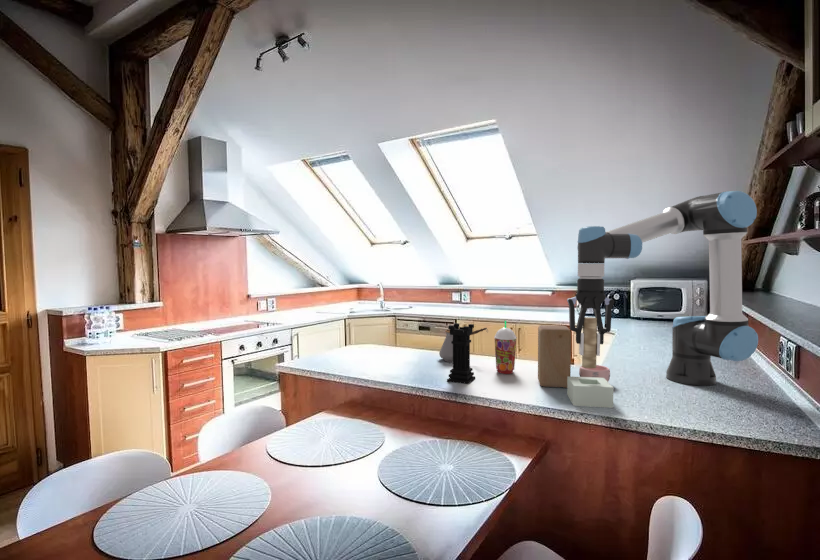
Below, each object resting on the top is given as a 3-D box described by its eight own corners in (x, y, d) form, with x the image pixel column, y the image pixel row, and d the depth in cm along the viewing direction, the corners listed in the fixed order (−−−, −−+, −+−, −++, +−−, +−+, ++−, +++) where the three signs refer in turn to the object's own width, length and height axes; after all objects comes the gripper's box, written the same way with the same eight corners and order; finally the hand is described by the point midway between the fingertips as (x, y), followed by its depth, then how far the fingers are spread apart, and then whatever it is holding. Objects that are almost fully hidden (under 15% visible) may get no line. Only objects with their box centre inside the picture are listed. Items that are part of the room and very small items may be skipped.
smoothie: (492, 373, 171) (492, 321, 170) (496, 368, 178) (496, 318, 177) (514, 375, 167) (514, 322, 167) (517, 370, 175) (518, 319, 174)
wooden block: (570, 388, 150) (571, 329, 150) (539, 387, 152) (540, 328, 152) (566, 381, 160) (567, 325, 159) (537, 379, 162) (538, 324, 161)
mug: (612, 389, 150) (612, 371, 150) (581, 387, 152) (581, 370, 152) (605, 380, 161) (606, 363, 161) (576, 378, 164) (577, 362, 164)
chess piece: (475, 378, 164) (475, 324, 163) (468, 384, 156) (468, 327, 156) (454, 376, 167) (454, 323, 166) (447, 381, 160) (447, 325, 159)
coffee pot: (435, 361, 192) (435, 326, 191) (444, 356, 202) (444, 323, 201) (484, 366, 183) (484, 329, 182) (491, 360, 193) (491, 325, 193)
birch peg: (594, 365, 138) (595, 317, 138) (597, 368, 134) (598, 318, 134) (580, 365, 139) (581, 317, 138) (583, 368, 135) (584, 318, 134)
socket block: (603, 396, 142) (603, 377, 141) (613, 407, 131) (613, 387, 131) (567, 394, 144) (567, 376, 143) (573, 405, 133) (573, 385, 132)
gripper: (617, 277, 138) (615, 353, 139) (559, 277, 141) (558, 351, 142) (624, 278, 130) (622, 358, 131) (563, 278, 133) (562, 356, 134)
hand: (589, 354), depth 137 cm, fingers closed on birch peg, 4 cm apart
